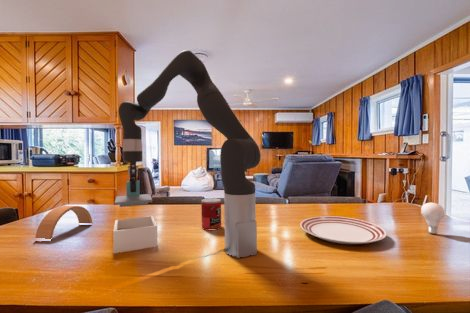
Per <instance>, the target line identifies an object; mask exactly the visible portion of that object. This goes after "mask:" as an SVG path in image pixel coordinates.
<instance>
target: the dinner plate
mask: <svg viewBox="0 0 470 313" xmlns="http://www.w3.org/2000/svg"><path fill="white" fill-rule="evenodd" d="M299 225H300V227H301V229H302V230H303V231H304V232H306V233H307V234H310V235H312V236H313V237H316V238H317V239H318V238H319V239H321V240H324V241H327V242H330V243H335V244H336V243H337V244H341V245H360V244H361V245H362V244H370V243H375V242H379V241H382V240H384V239H385V238H386V237H387V235H388V234H387V231H386V229H384V228H383V227H381V226H379V225H378V224H375V223H374V222H373V223H372V222H370V221H366V220H362V219H357V218H353V217H347V216H333V215H332V216H330V215H325V216H324V215H321V216H314V217H308V218H306V219H303V220H302V221H300V224H299Z"/></svg>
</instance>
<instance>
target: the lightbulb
mask: <svg viewBox="0 0 470 313" xmlns="http://www.w3.org/2000/svg"><path fill="white" fill-rule="evenodd" d="M420 212H421V215H422V216H423V218H424V219H425V221H426V224H427V232H428V233H429V234H431V235H436V234H438V233H439V232H438V229H439V228H438V227H439V224H440V222H441V220H442V219H443V218H444V217H445V215H446V214H445V209H444V207H443V206H442V205H440V204H439V203H436V202H426V203H424V204H423V205H422V206H421V208H420Z"/></svg>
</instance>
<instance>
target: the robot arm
mask: <svg viewBox="0 0 470 313" xmlns="http://www.w3.org/2000/svg"><path fill="white" fill-rule="evenodd" d="M178 76H180V77H181V78H182V79H184V80H186V81H187V82H188V83H189V84H190V85H191V86H192V88H193V90H195V93H196V94H197V96H196V103H197V106H198V108H199V110H200V112H201V114H202V117H204V119H205V121H206V122H207V123H208V124H210V126H211V127H212V128H214V129H215V130H216V131H218V132H219V133H220V134H221V135H223V136H224V137H225V138H226V140H224V142H222V145H221V149H220V154H219V156H220V157H219V160H220V173H221V174H220V175H221V177H220V178H221V183H222V186H223V189H224V190H223V196H224V198H223V199H224V200H223V201H224V203H223V204H224V205H223V206H224V208H223V209H224V210H223V214H224V216H223V217H224V252H225V254H227V255H228V254H229V256H231V255H232V256H231V257H235V256H236V257H235V258H237V259H240V257H242V258H246V257H250V255H251V256H255V255H257V254H258V230H257V229H258V228H257V226H258V224H257V221H256V218H257V217H256V216H257V215H256V184H255V182H253V181H252V180H251V181H250V180H249V179H248V178H247V177H246V176H247V175H246V172H245V171H246V170H250V169H255V168H256V167H257V166H258V165H259V164H260V162H261V156H262V155H261V150H260V147H259V145H258V144H257V142H256V141H255V139H254V138H253V137H252V136H251V135H250V133H249V132H248V131H247V129H246V128H245V127H244V126H243V125H242V124H241V122H240V120H239V118H238V117H237V116H236V114H235V112H234V111H233V110H232V108H231V106H230V104H229V103H228V101H227V100H226V98H225V97H224V95H223V94H222V92H221V91H220V89H219V87H217V85H216V84H215V83H214V82H213V80H212V79H211V76H210V74H209V72H208V70H207V68H206V66H205V64H204V62H203V61H202V60H201V59H200V58H199V57H198V56H197V55H196V54H194V52H192V51H191V50H189V49H184V50H182V51H180V52H179V53H178V54H177V55H175V57H173V59H171V61H170V62H169V63H168V64H167V66H166V67H165V68H164V69H163V70H162V71H161V73H160V74H159V75H158V77H156V78H155V80H154V81H153V82H151V83H150V84H149V85H148V86H147V87H145V89H143V90H142V91H141V92H140V93H138V95H137V97H136V102H137V103H135V102H133V101H128V100H127V101H122V102H121V103H120V104H119V107H118V115H119V116H118V117H119V120H120V124H121V126H122V130H123V133H122V134H123V135H122V139H123V141H122V161H123V162H125V163H127V162H128V163H129V165H128V166H127V172H128V178H129V179H128V180H129V181H130V192H136V182H137V181H138V180H137V178H138V176H139V175H138V174H139V173H138V172H139V166H138V165H137V163H139V162H141V163H142V162H143V142H142V140H143V139H142V131H143V130H142V127H141V126H139V125H137V124H136V122H135V121H141V120H143V119H144V118H145V117H147V115H148V114H149V112H150V111H151V109H152V108H154V107H155V106H156V105H157V104H159V103H160V102H161V101H163V99H164V98H165V96H166V94H167V91H168V89H169V86H170V83H171V82H172V81H173V80H174V79H175V78H177V77H178Z"/></svg>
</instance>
